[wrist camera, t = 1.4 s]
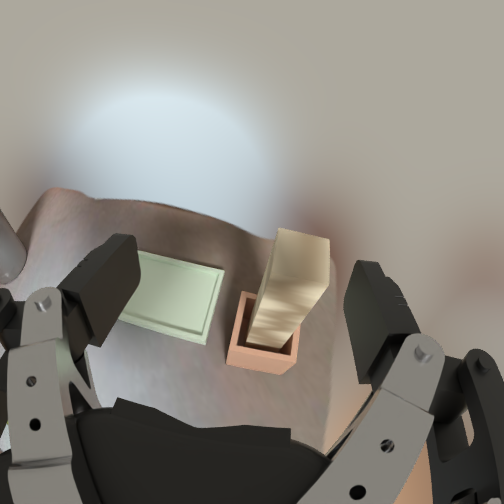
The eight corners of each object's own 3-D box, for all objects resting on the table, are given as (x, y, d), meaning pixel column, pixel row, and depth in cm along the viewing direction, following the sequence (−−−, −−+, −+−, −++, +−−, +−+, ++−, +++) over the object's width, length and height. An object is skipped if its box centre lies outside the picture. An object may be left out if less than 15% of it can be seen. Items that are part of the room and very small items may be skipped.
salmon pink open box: (225, 364, 34) (228, 349, 28) (236, 314, 38) (241, 290, 33) (281, 374, 34) (296, 362, 28) (288, 324, 38) (302, 303, 33)
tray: (112, 317, 35) (108, 312, 34) (138, 255, 42) (137, 249, 40) (205, 345, 35) (205, 341, 34) (223, 276, 42) (224, 270, 40)
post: (241, 353, 34) (271, 272, 18) (247, 325, 37) (278, 227, 21) (271, 359, 34) (329, 284, 18) (276, 331, 37) (329, 239, 21)
